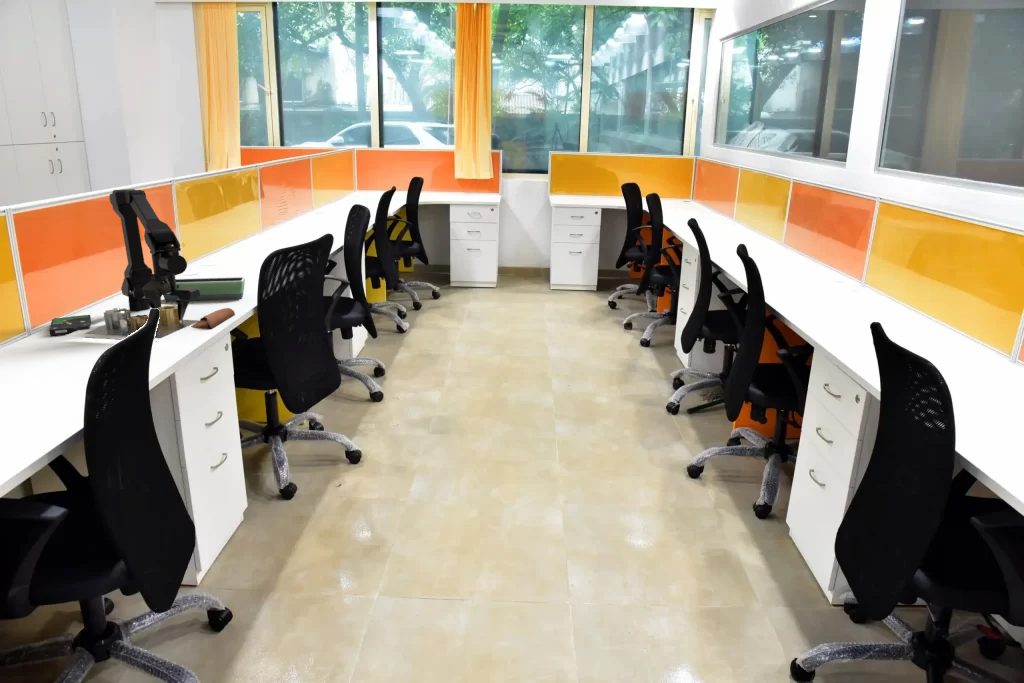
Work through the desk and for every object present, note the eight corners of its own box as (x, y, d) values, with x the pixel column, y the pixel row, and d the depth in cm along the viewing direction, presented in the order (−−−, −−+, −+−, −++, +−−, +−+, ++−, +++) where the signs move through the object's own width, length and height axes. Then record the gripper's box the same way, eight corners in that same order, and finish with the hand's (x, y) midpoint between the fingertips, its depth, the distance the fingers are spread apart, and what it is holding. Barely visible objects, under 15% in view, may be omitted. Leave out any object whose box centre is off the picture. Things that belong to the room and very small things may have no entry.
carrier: (129, 320, 228) (127, 300, 226) (200, 324, 225) (198, 304, 223) (84, 337, 209) (81, 316, 207) (161, 342, 206) (158, 320, 204)
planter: (246, 296, 263) (245, 276, 261) (244, 300, 257) (242, 280, 255) (165, 298, 257) (163, 279, 255) (160, 303, 251) (158, 283, 249)
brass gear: (166, 318, 227) (165, 304, 225) (187, 319, 226) (185, 305, 224) (153, 323, 220) (151, 309, 219) (174, 325, 219) (172, 311, 218)
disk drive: (91, 334, 214) (91, 322, 227) (90, 325, 213) (90, 313, 226) (50, 339, 209) (52, 326, 222) (48, 329, 209) (51, 317, 221)
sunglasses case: (209, 317, 233) (218, 300, 231) (229, 328, 234) (238, 311, 232) (184, 332, 216) (193, 314, 214) (205, 344, 217) (214, 326, 215)
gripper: (118, 273, 212) (125, 324, 216) (176, 276, 209) (182, 328, 214) (142, 266, 222) (148, 315, 227) (198, 269, 220) (203, 318, 224)
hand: (170, 319), depth 223 cm, fingers closed on brass gear, 7 cm apart
